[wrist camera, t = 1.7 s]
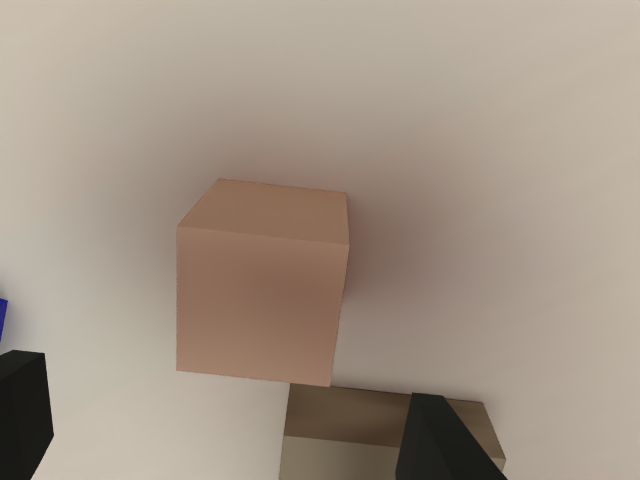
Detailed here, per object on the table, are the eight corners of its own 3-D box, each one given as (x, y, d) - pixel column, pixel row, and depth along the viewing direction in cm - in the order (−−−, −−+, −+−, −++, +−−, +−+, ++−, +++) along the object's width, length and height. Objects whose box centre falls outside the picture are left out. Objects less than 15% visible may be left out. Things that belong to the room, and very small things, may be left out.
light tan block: (346, 192, 17) (349, 245, 13) (331, 304, 19) (329, 386, 14) (219, 178, 17) (176, 226, 13) (215, 291, 19) (176, 370, 14)
